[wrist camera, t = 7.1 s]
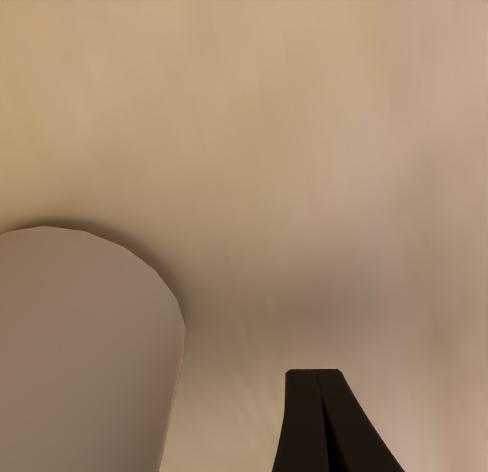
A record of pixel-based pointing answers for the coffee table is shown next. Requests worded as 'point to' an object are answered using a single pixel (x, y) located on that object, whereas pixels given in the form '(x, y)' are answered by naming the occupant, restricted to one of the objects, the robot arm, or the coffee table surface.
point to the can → (84, 354)
